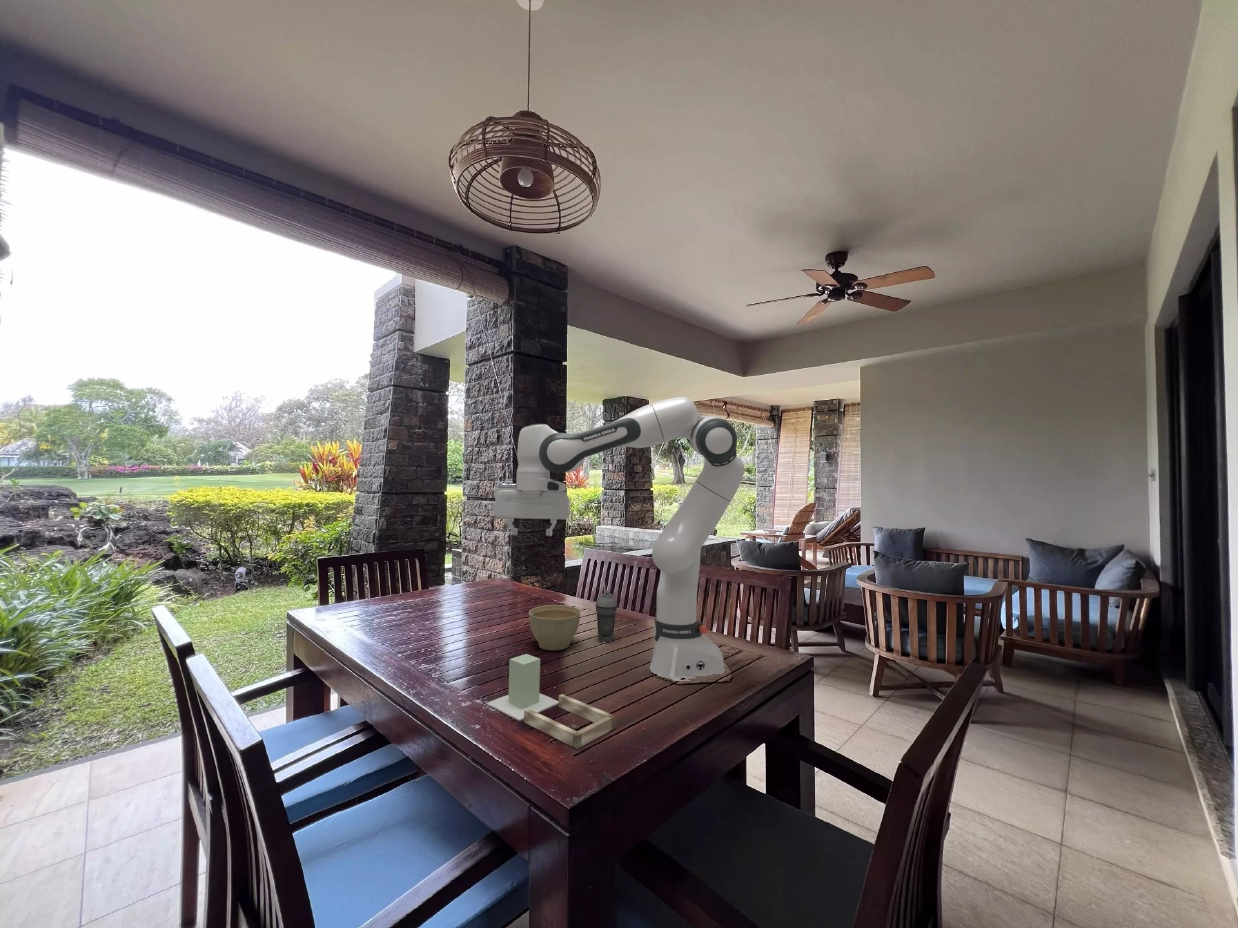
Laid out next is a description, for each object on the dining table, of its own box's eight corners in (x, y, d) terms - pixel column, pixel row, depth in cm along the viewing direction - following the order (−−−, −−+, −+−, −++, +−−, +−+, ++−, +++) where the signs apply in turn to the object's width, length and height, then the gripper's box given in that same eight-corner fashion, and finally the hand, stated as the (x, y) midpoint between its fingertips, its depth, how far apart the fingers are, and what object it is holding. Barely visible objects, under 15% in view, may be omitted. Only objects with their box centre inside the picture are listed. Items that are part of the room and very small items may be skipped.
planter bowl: (518, 644, 161) (519, 609, 161) (560, 635, 172) (560, 602, 172) (547, 658, 149) (548, 621, 149) (590, 647, 160) (591, 612, 160)
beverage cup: (608, 646, 161) (610, 582, 162) (589, 641, 165) (591, 579, 166) (620, 640, 167) (622, 579, 168) (602, 636, 171) (603, 576, 172)
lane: (523, 721, 110) (524, 710, 110) (562, 704, 119) (562, 694, 119) (577, 748, 100) (577, 735, 100) (615, 727, 108) (615, 716, 108)
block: (508, 702, 119) (509, 659, 119) (525, 695, 122) (526, 653, 123) (522, 709, 115) (523, 664, 116) (539, 702, 119) (540, 658, 119)
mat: (486, 704, 118) (486, 702, 118) (526, 688, 127) (526, 687, 127) (519, 720, 110) (519, 719, 110) (560, 703, 120) (560, 701, 120)
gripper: (491, 483, 135) (489, 535, 134) (569, 485, 135) (567, 537, 134) (497, 483, 141) (495, 533, 140) (571, 484, 141) (570, 535, 140)
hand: (531, 535), depth 137 cm, fingers open, 8 cm apart
